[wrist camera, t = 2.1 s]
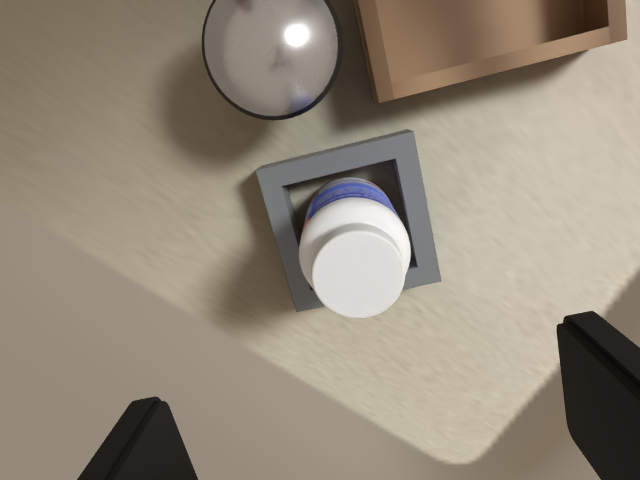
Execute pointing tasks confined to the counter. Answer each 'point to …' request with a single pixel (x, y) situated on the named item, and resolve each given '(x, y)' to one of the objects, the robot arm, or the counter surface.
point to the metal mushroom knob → (272, 54)
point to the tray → (474, 38)
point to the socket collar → (338, 160)
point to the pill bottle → (354, 248)
